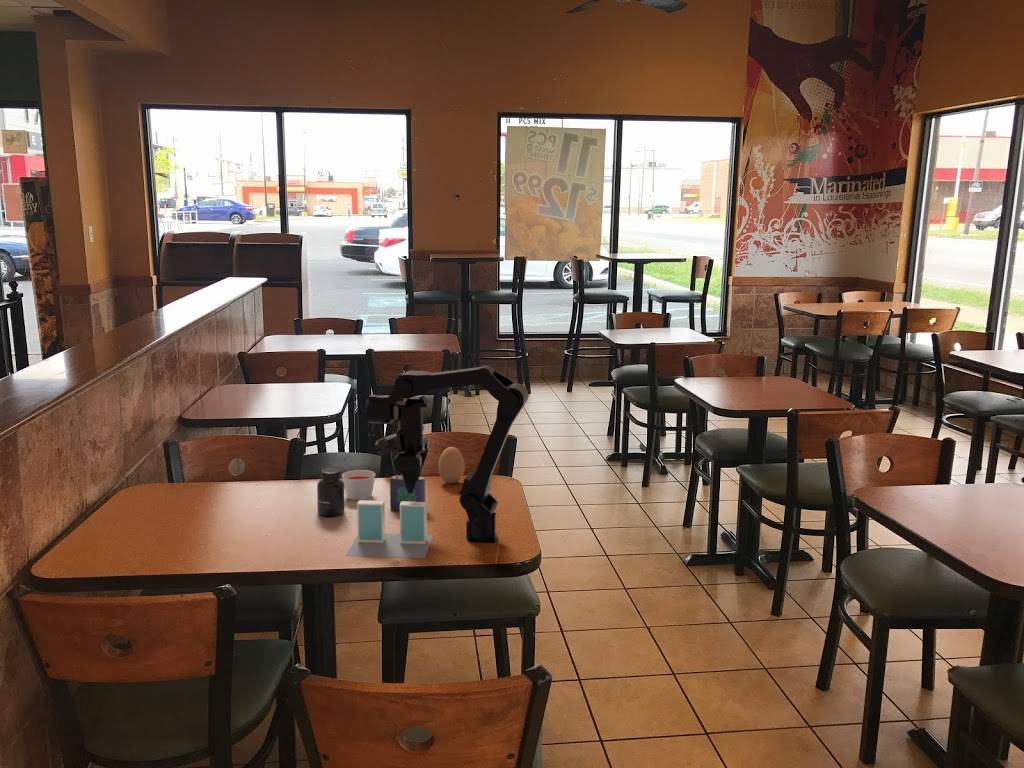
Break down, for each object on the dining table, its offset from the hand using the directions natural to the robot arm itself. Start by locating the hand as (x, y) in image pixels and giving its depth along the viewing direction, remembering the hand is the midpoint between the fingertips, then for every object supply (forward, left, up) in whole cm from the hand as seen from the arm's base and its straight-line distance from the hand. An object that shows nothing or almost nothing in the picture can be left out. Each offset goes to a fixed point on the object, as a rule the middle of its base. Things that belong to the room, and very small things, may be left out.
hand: (413, 487), depth 209 cm
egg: (-5, -40, -12) cm, 42 cm away
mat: (+4, +9, -12) cm, 15 cm away
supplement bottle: (+23, -11, -12) cm, 28 cm away
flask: (+4, -16, -12) cm, 21 cm away
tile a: (-1, +7, -11) cm, 13 cm away
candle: (+19, -26, -12) cm, 35 cm away
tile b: (+9, +7, -11) cm, 16 cm away
